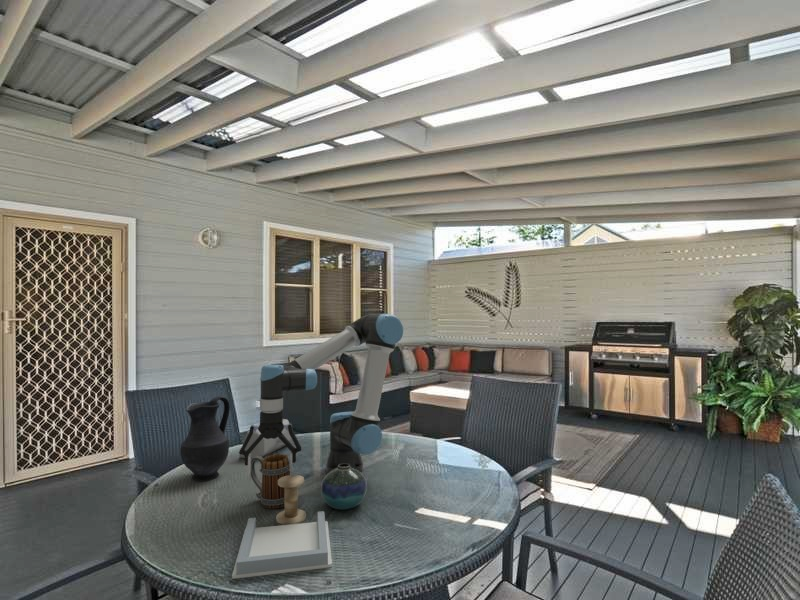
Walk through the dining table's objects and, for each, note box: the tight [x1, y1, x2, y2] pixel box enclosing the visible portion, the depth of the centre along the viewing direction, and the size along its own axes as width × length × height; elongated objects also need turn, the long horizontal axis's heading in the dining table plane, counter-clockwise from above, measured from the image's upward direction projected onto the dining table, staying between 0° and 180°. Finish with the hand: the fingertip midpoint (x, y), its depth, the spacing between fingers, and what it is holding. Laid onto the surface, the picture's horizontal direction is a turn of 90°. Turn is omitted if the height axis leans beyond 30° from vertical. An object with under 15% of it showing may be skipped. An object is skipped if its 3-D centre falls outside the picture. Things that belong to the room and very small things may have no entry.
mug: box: [250, 453, 291, 510], centre depth 155 cm, size 16×11×15 cm
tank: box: [238, 418, 292, 460], centre depth 210 cm, size 25×16×12 cm, turn 161°
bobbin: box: [275, 474, 307, 525], centre depth 142 cm, size 9×9×12 cm
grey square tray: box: [231, 510, 333, 580], centre depth 125 cm, size 24×24×4 cm
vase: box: [320, 463, 368, 511], centre depth 152 cm, size 15×15×13 cm
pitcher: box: [180, 395, 231, 482], centre depth 180 cm, size 17×21×30 cm
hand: (270, 473), depth 155 cm, fingers open, 13 cm apart
